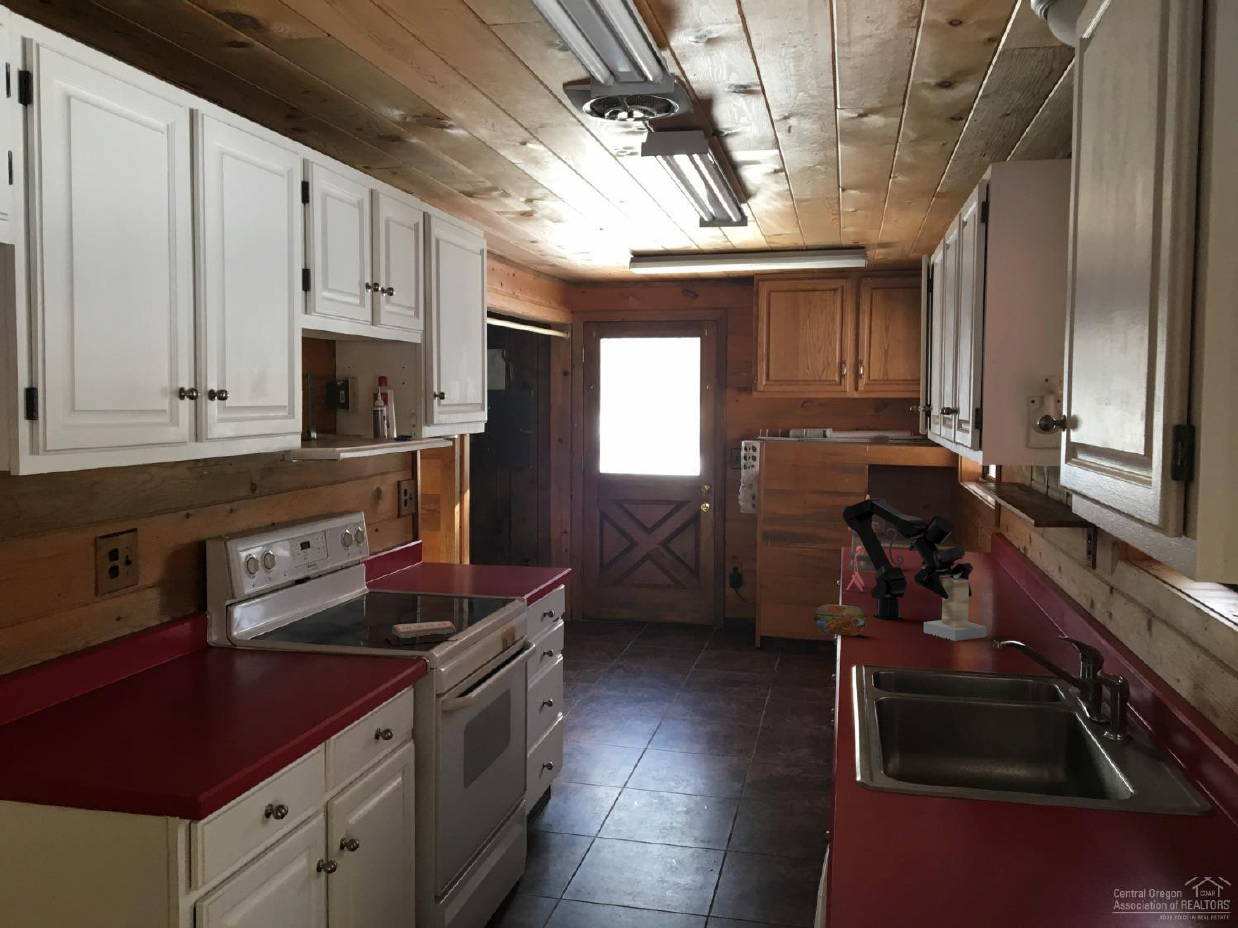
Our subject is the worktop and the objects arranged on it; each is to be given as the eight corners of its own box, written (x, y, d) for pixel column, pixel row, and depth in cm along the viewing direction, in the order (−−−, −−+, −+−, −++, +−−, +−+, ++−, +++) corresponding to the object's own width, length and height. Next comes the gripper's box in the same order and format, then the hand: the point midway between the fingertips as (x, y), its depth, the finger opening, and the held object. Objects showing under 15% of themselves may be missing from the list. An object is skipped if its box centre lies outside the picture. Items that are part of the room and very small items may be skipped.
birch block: (941, 623, 273) (942, 578, 272) (954, 621, 275) (955, 577, 275) (955, 626, 268) (956, 581, 268) (968, 625, 271) (968, 579, 270)
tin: (813, 632, 275) (813, 603, 275) (816, 630, 278) (816, 601, 277) (865, 637, 268) (865, 608, 268) (867, 635, 271) (868, 606, 270)
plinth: (923, 632, 275) (923, 622, 274) (954, 628, 280) (954, 618, 280) (954, 640, 264) (955, 630, 264) (986, 636, 269) (986, 626, 269)
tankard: (844, 572, 387) (845, 523, 386) (845, 566, 403) (846, 519, 402) (904, 574, 381) (905, 525, 380) (903, 568, 397) (904, 521, 396)
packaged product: (449, 617, 272) (458, 624, 263) (449, 634, 272) (458, 641, 263) (385, 623, 264) (392, 630, 255) (385, 640, 264) (392, 648, 255)
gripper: (922, 538, 270) (951, 582, 260) (968, 535, 278) (998, 577, 269) (901, 562, 277) (929, 606, 268) (947, 558, 286) (976, 600, 276)
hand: (959, 597), depth 270 cm, fingers open, 9 cm apart
